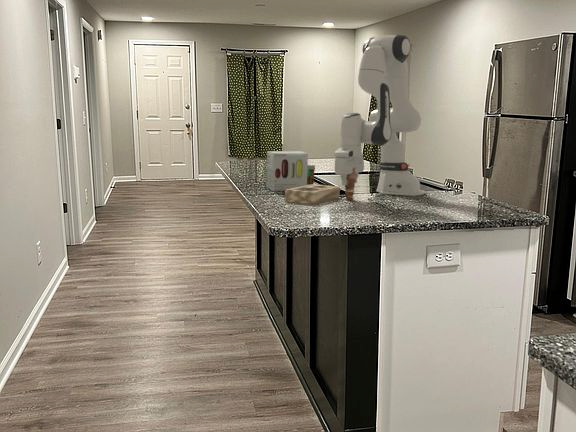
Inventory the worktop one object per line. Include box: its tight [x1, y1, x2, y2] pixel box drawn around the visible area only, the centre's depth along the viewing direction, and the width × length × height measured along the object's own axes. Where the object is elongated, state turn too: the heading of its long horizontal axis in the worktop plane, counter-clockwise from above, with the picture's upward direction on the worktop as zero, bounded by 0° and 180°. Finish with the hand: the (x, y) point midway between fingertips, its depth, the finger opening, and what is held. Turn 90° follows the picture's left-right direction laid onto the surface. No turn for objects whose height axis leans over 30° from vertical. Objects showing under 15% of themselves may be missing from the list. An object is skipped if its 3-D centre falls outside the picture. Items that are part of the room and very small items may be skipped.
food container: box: [307, 164, 316, 185], centre depth 304 cm, size 12×6×10 cm, turn 25°
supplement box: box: [266, 150, 309, 192], centre depth 283 cm, size 17×13×18 cm
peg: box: [344, 168, 356, 201], centre depth 252 cm, size 4×4×14 cm
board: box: [284, 183, 341, 205], centre depth 253 cm, size 14×22×5 cm, turn 146°
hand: (349, 184), depth 252 cm, fingers open, 7 cm apart
